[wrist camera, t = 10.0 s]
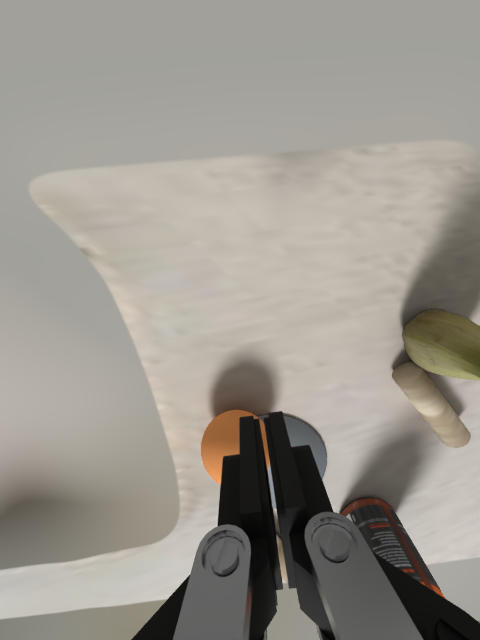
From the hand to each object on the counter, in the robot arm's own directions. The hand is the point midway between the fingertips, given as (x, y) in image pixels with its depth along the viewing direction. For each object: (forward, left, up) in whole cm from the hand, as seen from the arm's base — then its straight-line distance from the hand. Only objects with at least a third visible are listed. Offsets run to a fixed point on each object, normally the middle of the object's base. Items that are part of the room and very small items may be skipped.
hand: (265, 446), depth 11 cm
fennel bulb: (-15, +2, -14) cm, 20 cm away
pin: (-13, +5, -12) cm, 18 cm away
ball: (+3, +9, -10) cm, 14 cm away
